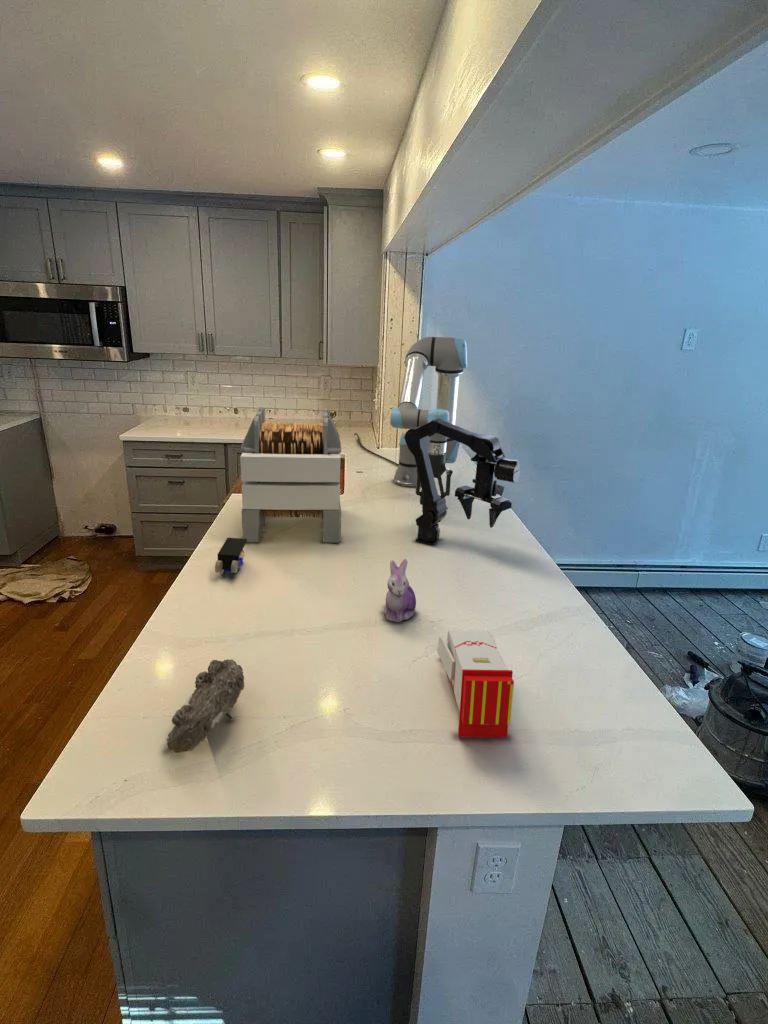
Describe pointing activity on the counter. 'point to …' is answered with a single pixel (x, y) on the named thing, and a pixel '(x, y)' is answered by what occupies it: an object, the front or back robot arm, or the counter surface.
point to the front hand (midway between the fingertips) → (479, 523)
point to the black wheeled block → (230, 556)
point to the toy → (478, 682)
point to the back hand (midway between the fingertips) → (431, 512)
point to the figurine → (399, 594)
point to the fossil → (206, 705)
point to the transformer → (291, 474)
